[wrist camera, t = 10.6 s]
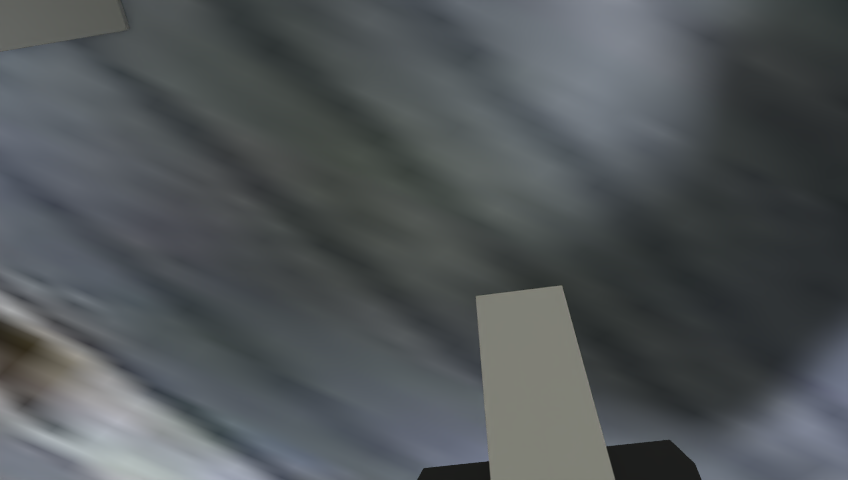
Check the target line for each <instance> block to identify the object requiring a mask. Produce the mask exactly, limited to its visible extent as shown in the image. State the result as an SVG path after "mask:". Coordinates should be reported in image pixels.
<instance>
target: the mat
mask: <svg viewBox="0 0 848 480" xmlns="http://www.w3.org/2000/svg"><path fill="white" fill-rule="evenodd" d="M128 29H129V25H128V22H127V19H126V15H125V12H124V9H123V6H122V3H121V0H0V52H1V51H7V50H13V49H19V48H25V47H31V46H37V45H43V44H49V43H55V42H60V41H66V40H72V39H78V38H84V37H90V36H96V35H102V34H108V33H114V32H119V31H125V30H128Z"/></svg>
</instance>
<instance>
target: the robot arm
mask: <svg viewBox="0 0 848 480" xmlns="http://www.w3.org/2000/svg"><path fill="white" fill-rule="evenodd" d="M476 305H477V318H478V330H479V342H480V355H481V367H482V379H483V392H484V404H485V416H486V428H487V441H488V453H489V461H487V462H478V463H468V464H459V465H450V466H440V467H431V468H423V470H422V472H421V474H420V476H419V477H418V479H417V480H701V477H700V475H699V472H698V470H697V468H696V465H695V463H694V462H693V461H692V460H691V459H689V458H688V457H687V456H686V455H685V454H684V453H683V452H682V451H681V450H680V449H679V448H678V447H677V446H676V445H675V444H674V443H673V442H671V441H670V440H663V441H653V442H644V443H635V444H625V445H616V446H607V447H606V444H605V441H604V437H603V434H602V430H601V426H600V423H599V419H598V415H597V412H596V408H595V404H594V401H593V397H592V393H591V390H590V386H589V382H588V379H587V375H586V371H585V368H584V364H583V360H582V357H581V353H580V350H579V346H578V342H577V339H576V335H575V331H574V328H573V324H572V320H571V317H570V313H569V309H568V306H567V302H566V298H565V295H564V291H563V287H562V285H561V286H553V287H545V288H537V289H528V290H520V291H512V292H504V293H496V294H488V295H480V296H476Z"/></svg>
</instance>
